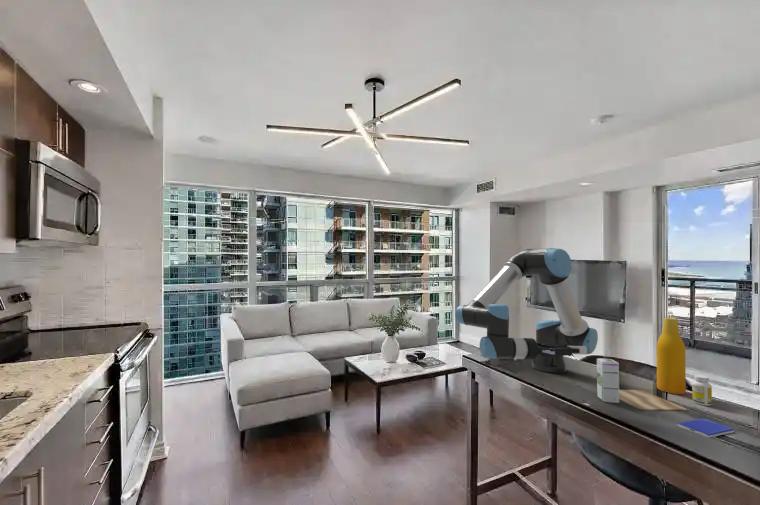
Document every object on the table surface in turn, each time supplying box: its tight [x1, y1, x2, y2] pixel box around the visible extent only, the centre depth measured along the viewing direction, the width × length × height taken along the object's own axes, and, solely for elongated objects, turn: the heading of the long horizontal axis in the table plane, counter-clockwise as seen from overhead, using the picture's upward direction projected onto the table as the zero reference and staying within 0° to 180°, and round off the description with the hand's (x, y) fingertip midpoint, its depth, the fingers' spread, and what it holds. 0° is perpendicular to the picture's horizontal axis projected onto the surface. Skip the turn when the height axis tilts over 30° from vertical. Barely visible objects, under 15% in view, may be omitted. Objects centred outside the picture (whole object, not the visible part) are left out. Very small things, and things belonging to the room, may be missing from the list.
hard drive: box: [676, 418, 735, 438], centre depth 112 cm, size 2×8×12 cm
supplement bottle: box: [691, 374, 713, 407], centre depth 135 cm, size 5×5×10 cm
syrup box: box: [596, 357, 620, 404], centre depth 136 cm, size 6×6×14 cm
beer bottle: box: [656, 317, 687, 395], centre depth 149 cm, size 9×9×29 cm
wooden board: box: [619, 389, 688, 412], centre depth 137 cm, size 17×20×1 cm
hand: (585, 350), depth 136 cm, fingers closed
